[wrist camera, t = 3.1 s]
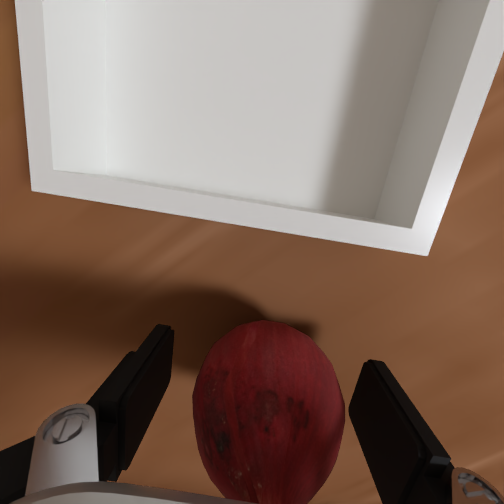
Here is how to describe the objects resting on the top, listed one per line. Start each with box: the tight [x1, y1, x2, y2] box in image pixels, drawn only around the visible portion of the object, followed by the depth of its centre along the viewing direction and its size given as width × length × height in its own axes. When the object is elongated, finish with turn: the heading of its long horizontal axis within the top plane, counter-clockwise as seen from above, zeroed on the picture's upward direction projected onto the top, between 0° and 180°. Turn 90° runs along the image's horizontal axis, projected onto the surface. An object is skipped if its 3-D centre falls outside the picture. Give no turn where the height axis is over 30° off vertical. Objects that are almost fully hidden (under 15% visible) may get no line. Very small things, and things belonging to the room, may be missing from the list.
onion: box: [192, 320, 345, 504], centre depth 9 cm, size 6×6×8 cm
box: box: [15, 0, 504, 256], centre depth 8 cm, size 14×14×4 cm
